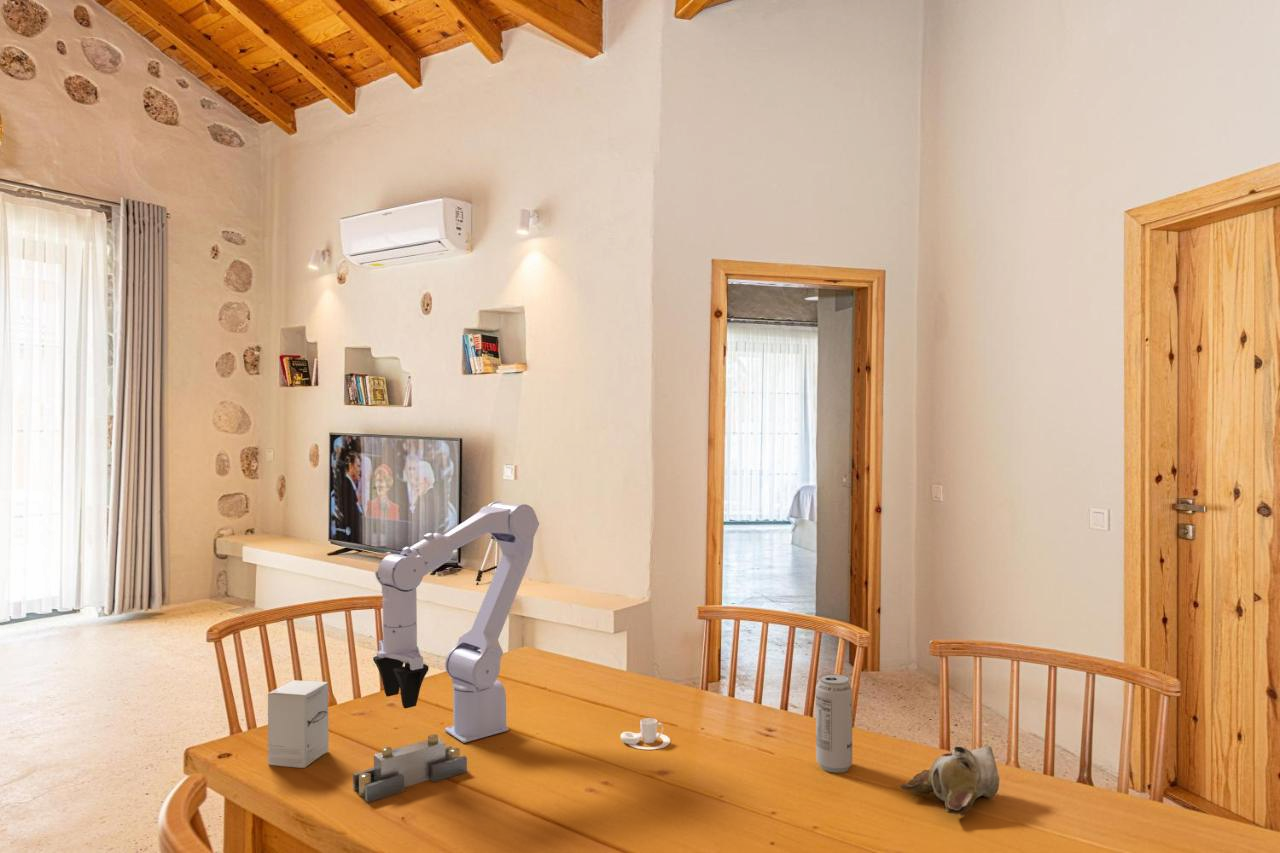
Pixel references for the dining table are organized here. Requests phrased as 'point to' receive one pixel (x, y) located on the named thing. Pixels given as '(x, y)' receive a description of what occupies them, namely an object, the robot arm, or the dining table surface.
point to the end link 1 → (376, 785)
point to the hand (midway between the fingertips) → (400, 700)
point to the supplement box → (297, 723)
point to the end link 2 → (449, 765)
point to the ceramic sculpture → (958, 778)
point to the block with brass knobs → (410, 761)
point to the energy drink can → (834, 723)
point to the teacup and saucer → (646, 735)
